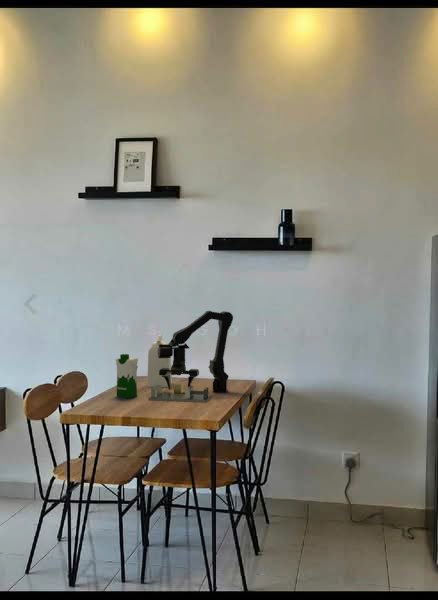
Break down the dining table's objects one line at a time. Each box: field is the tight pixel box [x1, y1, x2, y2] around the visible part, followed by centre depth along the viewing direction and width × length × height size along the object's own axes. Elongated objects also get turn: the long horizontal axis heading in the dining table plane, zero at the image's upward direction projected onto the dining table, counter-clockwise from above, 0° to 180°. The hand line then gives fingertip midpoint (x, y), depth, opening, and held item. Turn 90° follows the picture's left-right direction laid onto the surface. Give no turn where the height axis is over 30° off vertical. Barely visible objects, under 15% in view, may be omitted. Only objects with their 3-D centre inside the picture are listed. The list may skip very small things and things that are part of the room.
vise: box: [147, 385, 212, 403], centre depth 285 cm, size 27×12×5 cm, turn 81°
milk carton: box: [115, 353, 139, 399], centre depth 288 cm, size 9×9×20 cm
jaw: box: [184, 385, 209, 399], centre depth 283 cm, size 9×10×4 cm
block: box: [173, 381, 185, 394], centre depth 298 cm, size 4×7×5 cm, turn 171°
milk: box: [146, 334, 173, 388], centre depth 321 cm, size 12×12×26 cm
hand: (179, 389), depth 298 cm, fingers open, 9 cm apart
